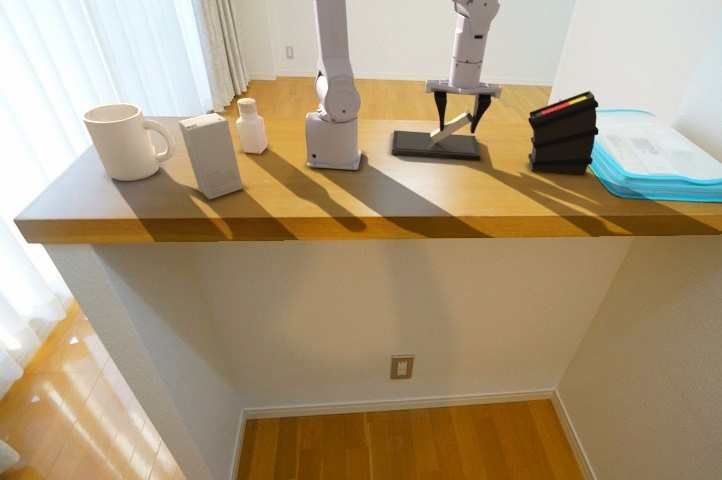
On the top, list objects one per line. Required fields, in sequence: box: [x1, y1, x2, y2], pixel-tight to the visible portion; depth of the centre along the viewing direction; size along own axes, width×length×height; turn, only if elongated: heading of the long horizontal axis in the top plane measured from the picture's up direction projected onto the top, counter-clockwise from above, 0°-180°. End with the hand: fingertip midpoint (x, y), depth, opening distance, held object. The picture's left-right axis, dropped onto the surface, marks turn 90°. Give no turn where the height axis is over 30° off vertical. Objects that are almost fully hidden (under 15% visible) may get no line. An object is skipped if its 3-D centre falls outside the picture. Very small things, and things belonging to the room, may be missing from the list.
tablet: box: [391, 129, 481, 161], centre depth 87 cm, size 18×10×1 cm, turn 88°
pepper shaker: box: [236, 97, 268, 155], centre depth 79 cm, size 4×4×10 cm
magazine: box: [527, 90, 599, 176], centre depth 79 cm, size 4×13×15 cm, turn 88°
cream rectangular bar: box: [430, 109, 473, 143], centre depth 85 cm, size 2×2×9 cm
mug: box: [81, 103, 176, 182], centre depth 70 cm, size 12×8×10 cm
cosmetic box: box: [177, 112, 244, 200], centre depth 66 cm, size 6×4×12 cm
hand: (456, 130), depth 85 cm, fingers closed on cream rectangular bar, 6 cm apart
